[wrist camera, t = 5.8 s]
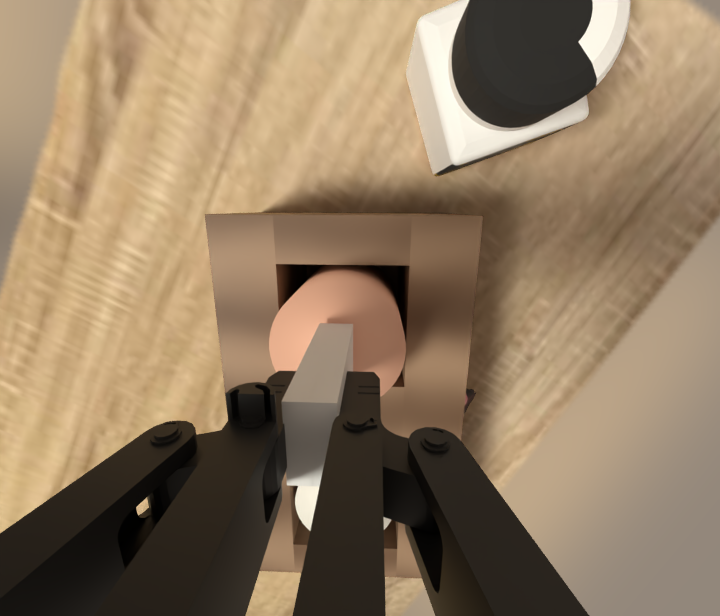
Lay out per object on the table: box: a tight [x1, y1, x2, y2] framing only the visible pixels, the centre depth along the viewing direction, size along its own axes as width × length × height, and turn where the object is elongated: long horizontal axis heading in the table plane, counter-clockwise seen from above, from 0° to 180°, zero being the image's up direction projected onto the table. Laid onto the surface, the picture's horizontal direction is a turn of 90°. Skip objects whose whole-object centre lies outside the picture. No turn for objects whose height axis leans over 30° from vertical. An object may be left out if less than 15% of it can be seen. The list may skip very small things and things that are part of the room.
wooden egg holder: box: [205, 213, 483, 578], centre depth 25 cm, size 24×14×9 cm, turn 0°
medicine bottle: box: [406, 0, 630, 176], centre depth 18 cm, size 7×7×12 cm
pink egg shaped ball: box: [269, 265, 406, 397], centre depth 20 cm, size 6×6×8 cm
